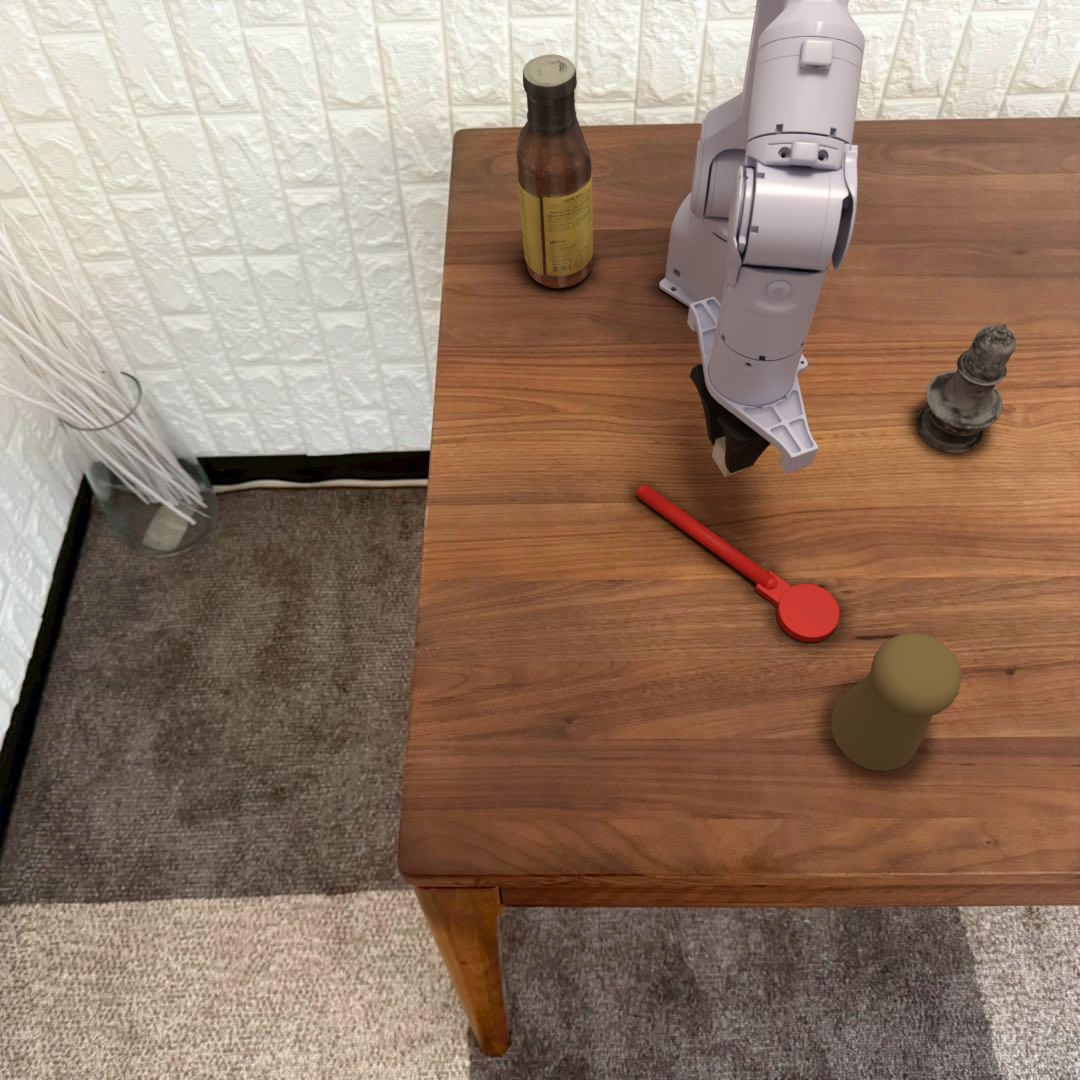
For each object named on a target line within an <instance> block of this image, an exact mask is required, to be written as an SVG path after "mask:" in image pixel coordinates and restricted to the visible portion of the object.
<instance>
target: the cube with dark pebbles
mask: <svg viewBox="0 0 1080 1080" xmlns="http://www.w3.org/2000/svg"><path fill="white" fill-rule="evenodd" d="M725 450H726V439H725V436H724V437H721V438H718V439H716V441H715V445H714V446H713V451H712V454H711V457H712V459H713V461H714V462H715V464H716V465H717V467H718V469H719V470H720V471H721V473H722V475H723V477H724V478H727V477H730V476H732V475H735V474H738V473H741V472H743V471H746V470H748V469H750V468H751V466H750V467H748V468H745V469H742V470H739V471H737V472H734V473H730V472H729V471H728V469H727V467H726V465H725Z"/></svg>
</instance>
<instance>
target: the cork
mask: <svg viewBox="0 0 1080 1080" xmlns="http://www.w3.org/2000/svg"><path fill="white" fill-rule="evenodd" d="M961 672H962V671H961V666H960V664H959V662H958V659H957V657H956V656H955V654H954V653H953V652H952V651H951V649H950V648H949V647H948V646H947V645H946V644H945V643H944V642H942V641H940V640H939V639H937V638H936V637H934V636H930V635H927V634H924V633H921V632H906V633H902V634H901V633H900V634H897V635H894V636H893V637H892V638H890V639H889V640H887V641H885V642H884V643H882V644H881V645H880V647H879V648H878V650H877V651H876V652H875V654H874V656H873V659H872V662H871V665H870V671H869V673H868V674H866V675H865V677H863V678H862V679H861V680H860V681H859V682H857V683H856V684H855V685H854V686H852V688H850V689H849V690H848V691H847V692H846V693H845V694H843V695H842V696H841V697H840V698H839V700H838V701H837V703H836V704H835V705H834V707H833V709H832V713H831V717H830V729H831V734H832V737H833V739H834V742H835V745H836V746H837V748H838V749H840V751H841V752H842V753H843V755H844V756H845V757H846V758H847V759H849V760H850V761H851V762H853V763H854V764H856V765H857V766H860V767H862V768H865V769H868V770H870V771H876V772H877V771H878V772H888V771H893V770H896V769H901V768H902V767H903V766H905V765H906V764H908V763H910V762H911V760H912V759H913V757H914V756H915V754H916V752H917V751H918V750H919V747H920V745H921V743H922V740H923V739H924V736H925V734H926V732H927V729H928V727H929V725H930V723H931V720H932V718H933V716H937V715H939V714H941V713H942V712H943V711H945V710H947V709H948V708H949V707H950V706H951V705H952V704H953V702H954V701H955V699H956V698H957V697H958V695H959V692H960V687H961V682H962V679H963V677H962V673H961Z"/></svg>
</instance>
